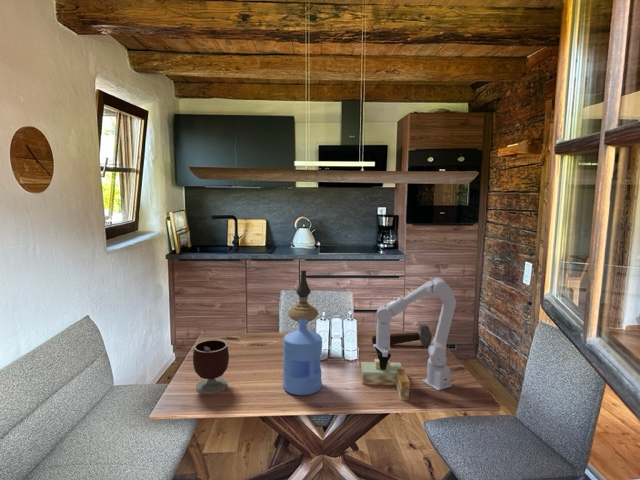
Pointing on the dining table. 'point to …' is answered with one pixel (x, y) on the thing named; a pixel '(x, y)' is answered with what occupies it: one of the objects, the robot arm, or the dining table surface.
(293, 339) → the water jug
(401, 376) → the golden block
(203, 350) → the mate gourd
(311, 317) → the oil lamp
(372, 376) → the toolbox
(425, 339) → the hammer
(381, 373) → the lid
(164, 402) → the dining table surface
